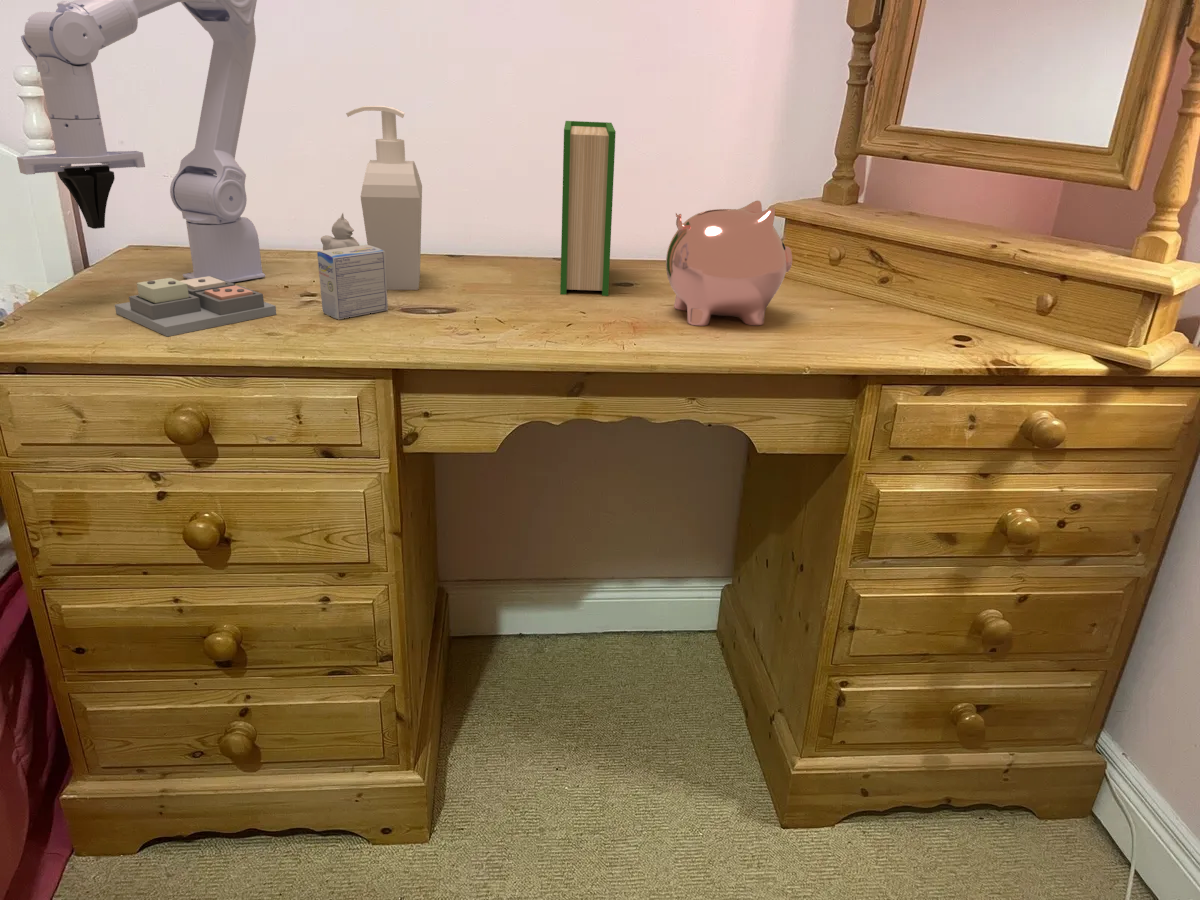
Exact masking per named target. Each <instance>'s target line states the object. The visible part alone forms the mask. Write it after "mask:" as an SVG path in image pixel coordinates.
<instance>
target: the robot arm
mask: <svg viewBox="0 0 1200 900" xmlns="http://www.w3.org/2000/svg"><path fill="white" fill-rule="evenodd" d="M257 2H258V0H72V1H68V0H62V1H59V2H57V4H56V6H57V9H56V10H55V11H37V12H35V13H33V14H31V15H30V16H29V17H27V22H25V25H24V34H23V35H22V34H21V35H20V40H21V43H22V44H23V47H24V49H25V51H27V53H28V54H29V56H31V57H32V58H33V60H34V61H35V64H36V69H37V72H38V73H39V74H40V79H41V84H42V85H41V86H42V91H43V94H44V100H45V105H46V110H47V115H48V119H49V123H50V127H51V132H52V138H53V143H54V147H55V152H56V153H47V154H36V155H25V156H16V160H17V164H18V169H19V173H20V174H24V175H36V174H45V173H57V175H58V178H59V180H61V182H62V184H64V186H65V187H66V188H67V190H68V191H69V193H70V194H71V195H72V197H73V198H74V200H75V203H76V204H77V206H78V207H79V209H80V211H81V213H82V216H83V218H84V220H85V223H86V226H87V228H90V229H94V230H96V229H103V228H106V227H105V225H106V210H107V204H108V199H109V196H110V193H111V189H112V186H113V184H114V181H115V179H116V178H115V177H116V176H115V172H114V171H113V170H110V169H124V168H125V169H126V168H137V169H138V168H146V163H145V162H146V161H145V156H144V152H143V151H142V152H141V151H138V150H128V151H127V150H125V151H121V150H120V151H119V150H118V151H117V150H115V151H114V150H113V151H108V150H107V145H106V139H105V134H104V128H103V127H104V126H103V121H102V118H101V111H100V106H99V102H98V94H97V90H96V83H95V79H94V78H95V77H94V72H93V67H92V63H93V62H94V61H95V60H96V59H97V57H98V55H99V51H100V50H102V49H104V48H106V47H109V46H110V45H112V44H114V43H116V42H118V41H121V40H123V39H124V38H127V37H129V36H130V35H133V34H134V33H136V31H137V29H138V26H139V25H138V23H139V22H138V20H139V19H140V18H143V17H145V16H147V15H150V14H151V13H155V12H158V11H159V10H162V9H165V8H166V7H167V8H168V7H170V6H172V5H174V4H177V3H181V5H182V6H183V7H184V8H185V9H186V11H188V12H189V14H191V16H192V17H193V18H194V19H195V20H196V21H197V22H198V23H199V25H200V26H202V28H203V29H204V30H205V31H206V32H207V33H208V34H209V35H210V38H211V39H212V42H213V43H212V48H211V56H210V59H209V67H208V70H207V77H206V81H205V82H206V84H205V88H204V94H203V99H202V105H201V111H200V116H199V122H198V128H197V132H196V133H197V134H196V139H195V146H194V148H193V149H192V150H191V151H190V152H189V153H187V154H186V155H185V156H184V157H183V158H181V160H180V165H179V169H178V171H177V173H176V174H175V175H174V177H173V178H172V180H171V183H170V188H169V194H170V199H171V201H172V204H173V205H174V207H175V208H176V209H177V210H178V211H180V212H181V214H182V219H183V220H185V223H186V230H187V231H186V232H187V236H188V244H189V245H188V246H189V250H190V257H191V258H190V259H191V263H192V271H193V272H188V273H182V277H183V278H185V279H186V280H188V279H194V278H201V277H207V276H213V277H216V278H219V279H222V280H225V281H228V282H230V283H236V282H242V281H248V280H254V279H262V278H265V277H266V274H265V273H264V272H263V266H262V259H261V249H260V248H261V247H260V241H259V235H258V231H257V229H256V226H255V225H254V223H253V222H252V220H251V219H249V218H248V217H245V216H242V214H243V213H244V211H245V210H246V207H247V200H248V199H247V193H246V179H247V178H246V177H247V173H246V172H245V171H244V169H243V168H242V167H241V166H240V165H239V163H238V162H237V161H236V153H237V148H238V141H239V137H240V132H241V126H242V122H243V121H242V120H243V114H244V111H245V110H244V109H245V104H246V98H247V93H248V88H249V81H250V76H251V71H252V67H253V59H254V55H255V48H256V42H257V38H256V37H257V36H256V28H255V12H256V7H257ZM80 164H82V165H80ZM83 164H84V165H83ZM87 164H88V165H87ZM89 164H90V165H89Z"/></svg>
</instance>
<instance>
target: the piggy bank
mask: <svg viewBox="0 0 1200 900" xmlns="http://www.w3.org/2000/svg"><path fill="white" fill-rule="evenodd" d="M762 207H763V206H762V202H761V201H760V200H755V201H752V202H751V203H749V204H747V205H746V206H742V207H740V208H735V209H734V208H733V209H732V208H719V209H709V210H705V211H701V212H698V213H696V214H694V215H692V216H691V217H689V218H688V219H686V220H685V221H684V222H682V213H677V212H675V217H676V221H675V225H676V229H677V230H676V231H675V233H674V235H673V236H672V238H671V240H670V242H669V245H668V248H667V251H666V256H665V270H666V275H667V279H668V282H669V285H670V287H671V289H672V291H673V293H674V294H675V299H674V304H673V308H674V309H675V310H678V311H687V312H686V315H687V316H686V317H687V318H686V319H687V320H686V321H687V324H688V325H691V326H693V327H705V326H708V325H709V324H710V321H711V317H712V316H718V317H737V318H740V320H741V321H742V322H743V324H745V325H748V326H762V325H764V323H765V314H766V309H767V308H768V306H769V304H770V303H771V302H772V300H773V299H774V297H775V295H776V293H777V292H778V291H779V289H780V287H781V285H782V283H783V281H784V279H785V276H786V273H788V272H790V271H791V268H792V263H793V255H792V254H793V253H792V249H791V248H790V247H789V246H786V245H785V243H784V242H783V240H782V238H781V237H780V235H779V234H778V231H777V230H776V227H775V226H774V221H775V216H776V209H775V207H769V208H767V209H765V210H763V208H762Z"/></svg>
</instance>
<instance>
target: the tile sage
mask: <svg viewBox="0 0 1200 900" xmlns="http://www.w3.org/2000/svg"><path fill="white" fill-rule="evenodd" d="M181 281H182V280H178V279H175V278H173V277H166V278H159V279H153V280H147V281H141V282H136V287H137V293H138V294H137V295H139V297H141V298H143V299H146V300H148V301H151V302H153V303H160V302H166V301H172V300H177V299H183V298H189V294H188V288H187V284H186V283H183V282H181Z"/></svg>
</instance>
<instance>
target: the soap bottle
mask: <svg viewBox="0 0 1200 900" xmlns="http://www.w3.org/2000/svg"><path fill="white" fill-rule="evenodd" d="M366 111H368V112H369V111H374V112H381V113H380V114H381V129H382V138H377V139H375V151H376V159H369V161H368V162H367V165H366V168H365V172H364V177H363V181H362V187H361V192H360V202H361V209H362V217H363V222H364V231H365V237H366V243H367V244H366V245H370V246H374V247H376V248H379V249H381V250H383V251H385V264H386V283H387V291H389V290H391V291H392V290H395V291H398V290H399V291H405V290H406V291H407V290H408V291H409V290H410V291H411V290H412V291H414V290H415V291H418V290H419V288H420V282H421V281H420V279H421V254H422V253H421V251H422V250H421V249H422V246H421V245H422V244H421V243H422V242H421V241H422V211H423V210H422V209H423V208H422V205H423V204H422V203H423V201H422V200H423V184H422V182H421V177H420V174H419V171H418V168H417V165H416V163H415V161H414V160H406V150H405V145H406V144H405V140H404V139H401V138H400V139H399V138H398V137H397V136H398V135H397V133H398V132H397V118H396V116H398V117H400V118H402V119H404V117H405V114H406V112H404V111H402V110H400V109H398V108H396V107H392V106H387V105H364V106H360V107H357V108H354V109H353V110H350V111H348V112H346V113H345V114H346V116H347V118H349V117H352V116H353V115H355V114H358V113H361V112H366Z"/></svg>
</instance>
